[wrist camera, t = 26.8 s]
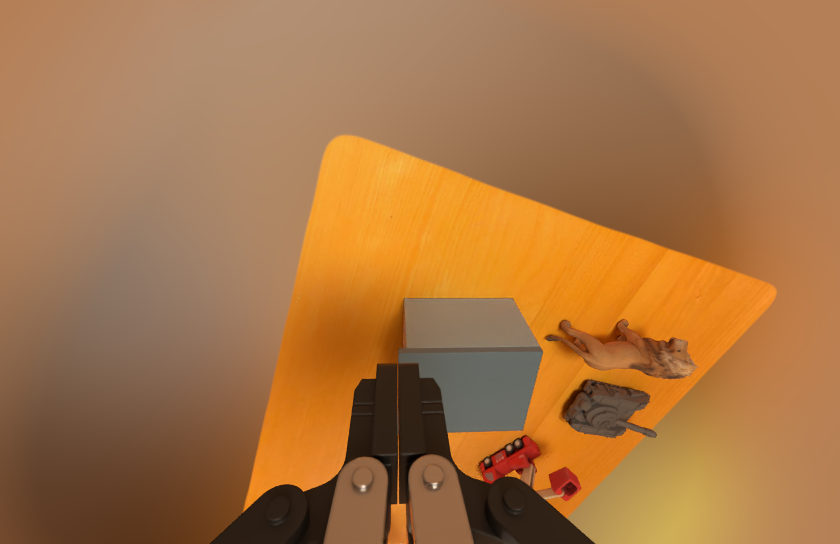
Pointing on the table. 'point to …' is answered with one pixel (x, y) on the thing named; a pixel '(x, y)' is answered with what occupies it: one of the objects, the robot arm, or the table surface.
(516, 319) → the washer
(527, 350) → the lid
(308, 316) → the table surface
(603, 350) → the lion figurine
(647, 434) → the tank toy
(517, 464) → the toy fire truck
